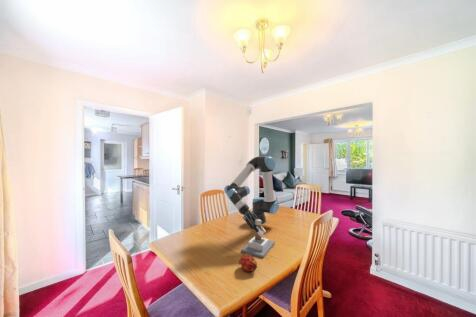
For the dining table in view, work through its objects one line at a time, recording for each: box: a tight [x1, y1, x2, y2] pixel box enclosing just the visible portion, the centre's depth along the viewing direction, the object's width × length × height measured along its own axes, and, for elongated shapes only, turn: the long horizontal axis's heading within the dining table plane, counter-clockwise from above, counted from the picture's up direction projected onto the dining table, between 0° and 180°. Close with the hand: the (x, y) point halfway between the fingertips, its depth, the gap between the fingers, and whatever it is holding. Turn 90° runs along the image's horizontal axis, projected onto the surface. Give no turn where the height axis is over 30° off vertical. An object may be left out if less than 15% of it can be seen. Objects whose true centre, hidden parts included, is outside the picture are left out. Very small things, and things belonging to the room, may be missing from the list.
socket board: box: [240, 235, 276, 259], centre depth 130 cm, size 22×16×5 cm
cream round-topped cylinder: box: [254, 219, 262, 240], centre depth 129 cm, size 4×4×13 cm
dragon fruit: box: [238, 253, 258, 273], centre depth 105 cm, size 8×8×12 cm
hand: (263, 234), depth 128 cm, fingers closed on cream round-topped cylinder, 4 cm apart
